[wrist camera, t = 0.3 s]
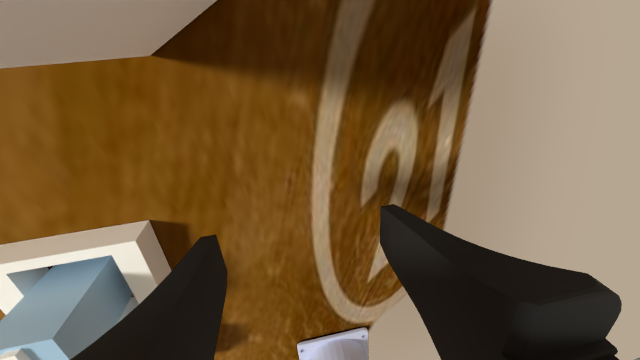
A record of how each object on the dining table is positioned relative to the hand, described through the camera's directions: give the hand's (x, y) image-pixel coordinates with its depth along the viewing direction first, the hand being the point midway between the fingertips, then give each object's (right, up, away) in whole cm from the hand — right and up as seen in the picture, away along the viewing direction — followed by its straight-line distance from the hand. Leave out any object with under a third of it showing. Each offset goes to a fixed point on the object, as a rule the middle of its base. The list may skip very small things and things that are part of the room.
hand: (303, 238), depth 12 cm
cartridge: (-17, -5, +10) cm, 20 cm away
